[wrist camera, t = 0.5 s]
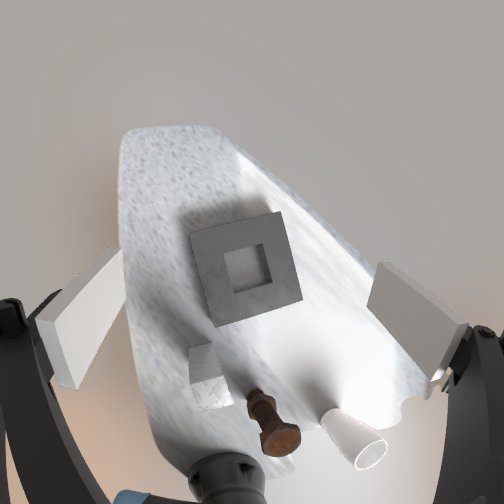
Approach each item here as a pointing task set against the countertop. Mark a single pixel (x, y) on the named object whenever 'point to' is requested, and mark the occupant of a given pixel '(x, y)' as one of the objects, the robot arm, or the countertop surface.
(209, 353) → the peg
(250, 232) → the socket block
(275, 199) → the countertop surface
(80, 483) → the robot arm
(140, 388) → the countertop surface
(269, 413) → the bolt
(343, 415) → the drinking glass
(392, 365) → the countertop surface
